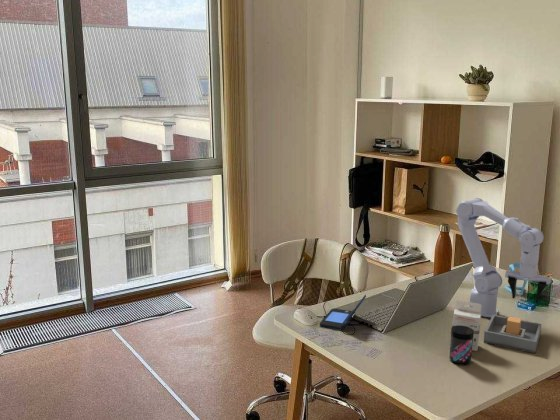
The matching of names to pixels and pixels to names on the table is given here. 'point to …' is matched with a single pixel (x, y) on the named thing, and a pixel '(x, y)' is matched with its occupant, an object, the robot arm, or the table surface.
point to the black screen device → (338, 318)
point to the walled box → (523, 344)
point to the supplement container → (461, 344)
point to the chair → (517, 279)
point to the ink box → (468, 318)
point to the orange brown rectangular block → (513, 325)
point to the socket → (522, 333)
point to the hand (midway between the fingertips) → (525, 299)
